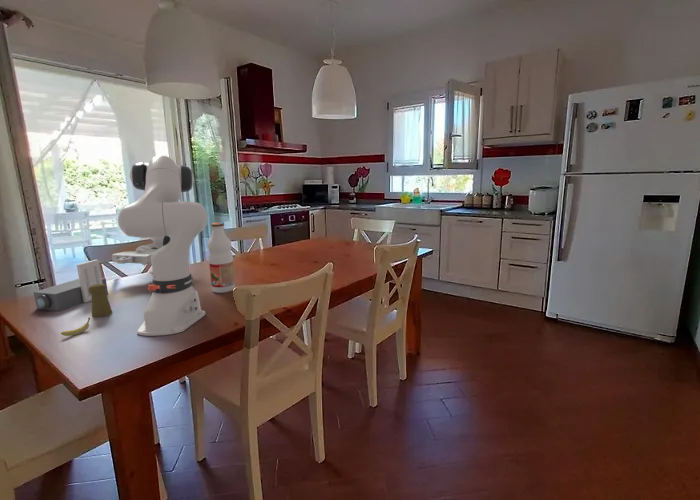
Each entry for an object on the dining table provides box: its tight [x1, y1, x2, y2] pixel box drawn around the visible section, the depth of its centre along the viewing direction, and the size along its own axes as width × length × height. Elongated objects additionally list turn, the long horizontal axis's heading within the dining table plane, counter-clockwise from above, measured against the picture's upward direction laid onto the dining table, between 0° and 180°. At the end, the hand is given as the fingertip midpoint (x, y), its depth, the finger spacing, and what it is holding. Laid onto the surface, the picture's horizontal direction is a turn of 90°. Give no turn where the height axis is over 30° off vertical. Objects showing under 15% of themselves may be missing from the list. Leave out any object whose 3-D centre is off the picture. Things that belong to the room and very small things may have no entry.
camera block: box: [33, 277, 109, 312], centre depth 143 cm, size 22×11×7 cm, turn 164°
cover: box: [76, 259, 103, 303], centre depth 144 cm, size 8×2×15 cm, turn 164°
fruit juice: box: [207, 222, 236, 294], centre depth 151 cm, size 9×9×28 cm
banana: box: [60, 317, 91, 337], centre depth 114 cm, size 8×2×4 cm, turn 150°
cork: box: [89, 284, 113, 318], centre depth 129 cm, size 6×6×11 cm
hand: (119, 261), depth 155 cm, fingers closed
